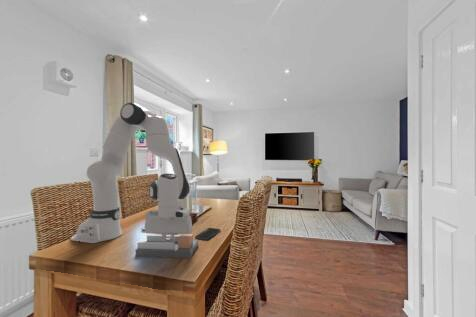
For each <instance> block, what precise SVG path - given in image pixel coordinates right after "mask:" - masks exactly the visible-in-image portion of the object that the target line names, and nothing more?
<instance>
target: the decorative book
mask: <svg viewBox="0 0 476 317" xmlns="http://www.w3.org/2000/svg"><path fill="white" fill-rule="evenodd" d="M189 215H190V217H191V220H192V224H193V223H194V222H196V221H197V219H198V212H194V211H193V212H191V211H190V213H189Z"/></svg>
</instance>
